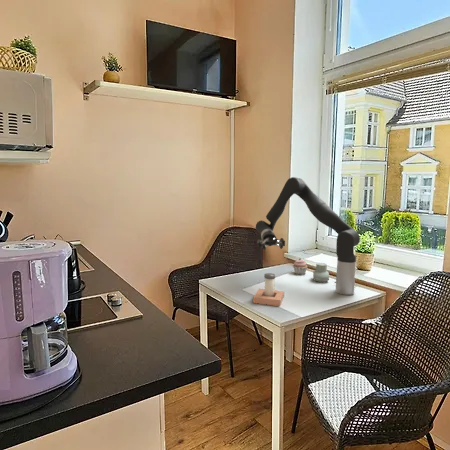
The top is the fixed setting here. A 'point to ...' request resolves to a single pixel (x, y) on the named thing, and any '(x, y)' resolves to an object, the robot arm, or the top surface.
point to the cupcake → (300, 267)
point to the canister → (269, 284)
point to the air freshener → (321, 273)
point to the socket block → (269, 298)
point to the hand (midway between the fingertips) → (273, 247)
